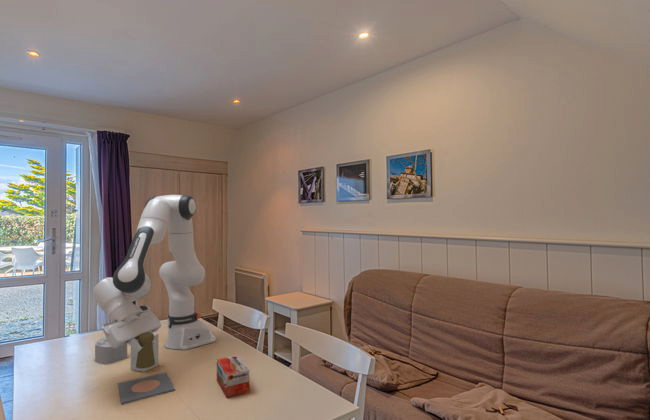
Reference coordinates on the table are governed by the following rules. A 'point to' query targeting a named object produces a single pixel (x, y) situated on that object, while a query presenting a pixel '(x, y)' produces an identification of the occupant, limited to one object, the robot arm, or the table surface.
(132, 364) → the supplement box
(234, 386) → the medicine box
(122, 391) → the card
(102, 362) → the lumpy-topped squat cylinder
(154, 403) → the table surface
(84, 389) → the table surface
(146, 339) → the cork
